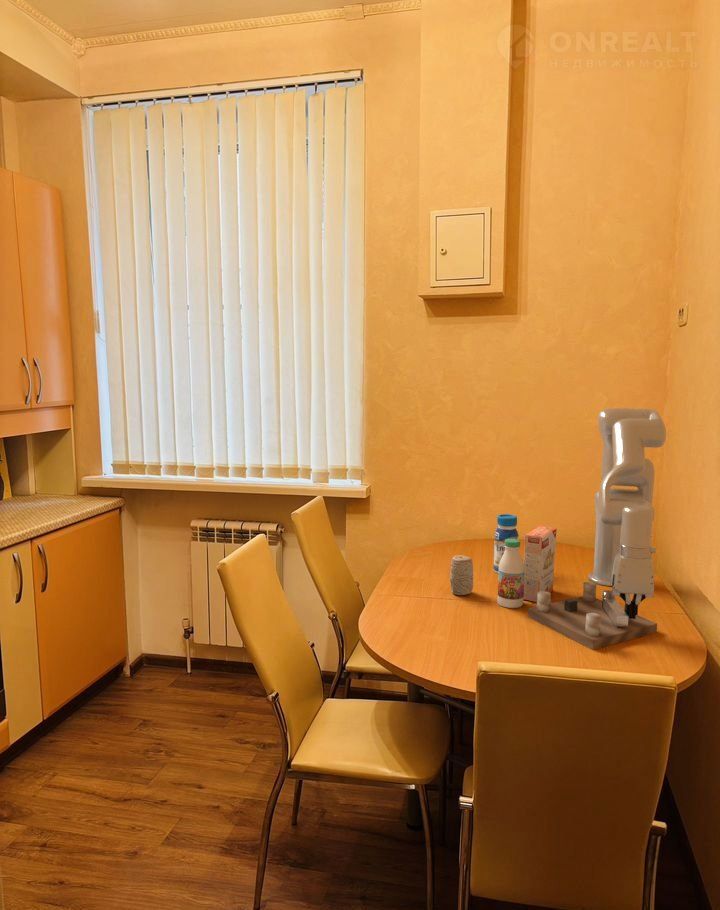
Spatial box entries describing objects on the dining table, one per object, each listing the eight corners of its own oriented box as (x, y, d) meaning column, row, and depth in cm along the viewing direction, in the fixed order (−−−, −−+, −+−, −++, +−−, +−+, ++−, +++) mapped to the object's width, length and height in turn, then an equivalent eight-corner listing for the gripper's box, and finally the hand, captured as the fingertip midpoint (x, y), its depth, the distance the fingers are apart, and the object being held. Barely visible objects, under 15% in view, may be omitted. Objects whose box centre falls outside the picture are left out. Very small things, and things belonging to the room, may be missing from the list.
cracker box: (540, 603, 190) (543, 537, 187) (521, 599, 194) (523, 534, 191) (554, 590, 202) (557, 527, 199) (536, 587, 205) (538, 524, 202)
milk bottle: (493, 599, 193) (496, 537, 191) (518, 599, 194) (520, 536, 191) (501, 609, 186) (504, 544, 183) (526, 608, 186) (529, 543, 184)
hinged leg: (600, 604, 182) (601, 590, 182) (612, 605, 182) (613, 590, 181) (615, 626, 167) (616, 610, 166) (628, 626, 166) (629, 611, 166)
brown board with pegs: (588, 603, 191) (589, 579, 190) (656, 632, 170) (658, 605, 169) (527, 616, 180) (528, 591, 179) (592, 649, 159) (594, 621, 158)
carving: (445, 591, 200) (446, 555, 199) (466, 588, 203) (467, 553, 201) (455, 598, 194) (456, 561, 193) (476, 595, 197) (477, 558, 195)
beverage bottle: (516, 568, 224) (518, 513, 221) (518, 576, 216) (520, 519, 213) (492, 567, 225) (494, 512, 223) (493, 574, 217) (495, 518, 214)
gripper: (659, 548, 170) (655, 613, 172) (602, 546, 172) (598, 610, 174) (669, 556, 163) (664, 624, 165) (609, 554, 165) (605, 620, 167)
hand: (630, 616), depth 170 cm, fingers closed
